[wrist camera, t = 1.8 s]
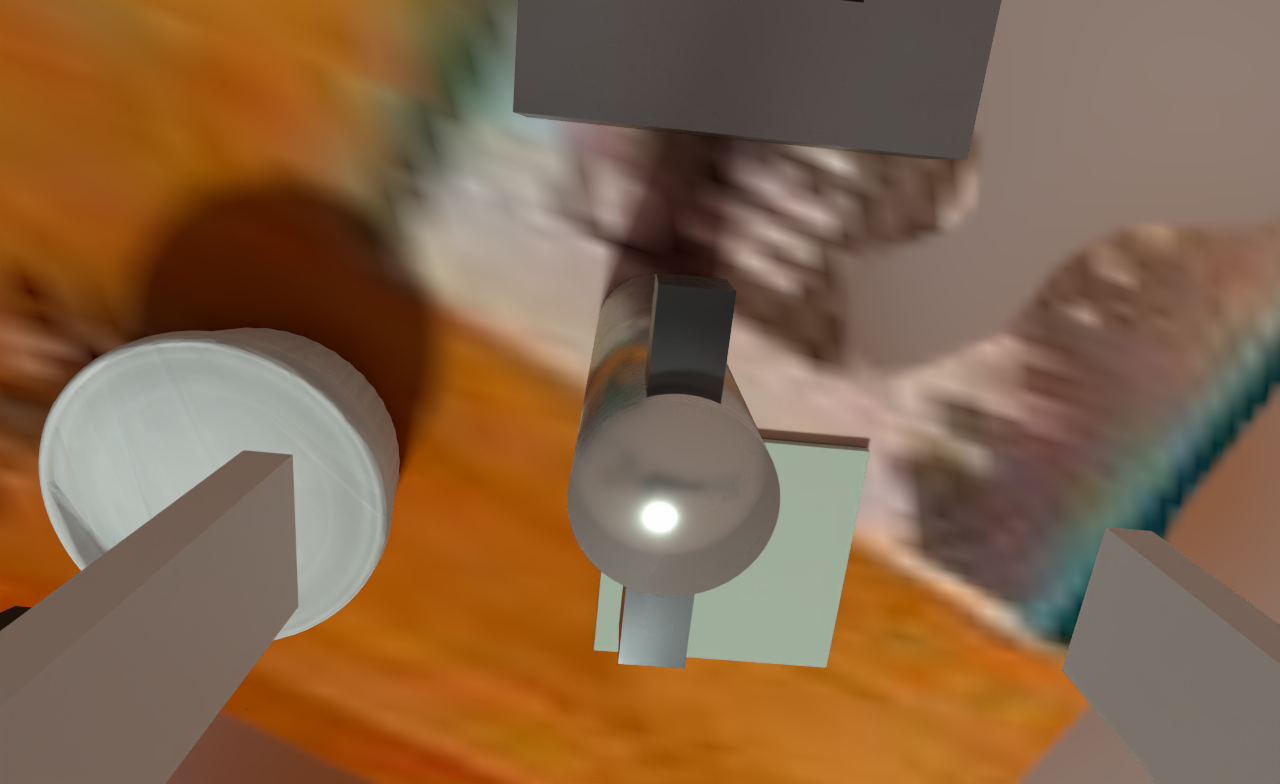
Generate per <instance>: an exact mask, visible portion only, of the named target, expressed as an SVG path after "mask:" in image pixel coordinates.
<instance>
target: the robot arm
mask: <svg viewBox="0 0 1280 784" xmlns="http://www.w3.org/2000/svg"><path fill="white" fill-rule="evenodd" d="M297 608H298V581H297V554H296V528H295V501H294V474H293V455H292V454H281V453H270V452H258V451H247V450H243V451H242V452H240V453H239V454H238V455H236V456H235V457H234V458H232V459H231V460H230V461H228V462H227V463H226V464H224V465H223V466H222V467H220V468H219V469H218V470H216V471H215V472H214V473H212V474H211V475H209V476H208V477H207V478H205V479H204V480H203V481H201V482H200V483H199V484H197V485H196V486H195V487H193V488H192V489H191V490H189V491H188V492H187V493H185V494H184V495H183V496H181V497H180V498H179V499H177V500H176V501H175V502H173V503H172V504H171V505H169V506H168V507H166V508H165V509H164V510H162V511H161V512H160V513H158V514H157V515H156V516H154V517H153V518H152V519H150V520H149V521H148V522H146V523H145V524H144V525H142V526H141V527H140V528H138V529H137V530H136V531H134V532H133V533H132V534H130V535H129V536H127V537H126V538H125V539H123V540H122V541H121V542H119V543H118V544H117V545H115V546H114V547H113V548H111V549H110V550H109V551H107V552H106V553H105V554H103V555H102V556H101V557H99V558H98V559H97V560H95V561H94V562H93V563H91V564H90V565H89V566H87V567H86V568H84V569H83V570H82V571H80V572H79V573H78V574H76V575H75V576H74V577H72V578H71V579H70V580H68V581H67V582H66V583H64V584H63V585H62V586H60V587H59V588H58V589H56V590H55V591H54V592H52V593H51V594H50V595H48V596H47V597H45V598H44V599H43V600H41V601H40V602H39V603H37V604H36V605H35V606H33V607H20V606H14V607H12V608H10V609H8V610H5V611H3V612H1V613H0V784H165V783H166V782H167V781H168V779H169V778H170V776H171V775H172V774H173V773H174V771H175V770H176V769H177V767H178V766H179V765H180V763H181V762H182V761H183V759H184V758H185V757H186V755H187V754H188V753H189V751H190V750H191V749H192V747H193V746H194V744H195V743H196V742H197V741H198V739H199V738H200V737H201V735H202V734H203V733H204V731H205V730H206V729H207V727H208V726H209V725H210V724H211V722H212V721H213V720H214V718H215V717H216V716H217V714H218V713H219V712H220V710H221V709H222V708H223V706H224V705H225V704H226V702H227V701H228V700H229V698H230V697H231V696H232V694H233V693H234V692H235V690H236V689H237V688H238V686H239V685H240V684H241V682H242V681H243V680H244V678H245V677H246V676H247V674H248V673H249V672H250V670H251V669H252V668H253V666H254V665H255V664H256V662H257V661H258V660H259V658H260V657H261V656H262V655H263V653H264V652H265V651H266V649H267V648H268V647H269V645H270V644H271V643H272V641H273V640H274V639H275V637H276V636H277V635H278V633H279V632H280V631H281V629H282V628H283V627H284V625H285V624H286V623H287V621H288V620H289V619H290V617H291V616H292V615H293V613H294V612H295V611H296V609H297ZM1062 671H1063V672H1064V673H1065V674H1066V676H1067V677H1068V678H1069V679H1070V680H1071V682H1072V683H1073V684H1074V685H1075V686H1076V688H1077V689H1078V690H1079V691H1080V692H1081V694H1082V695H1083V696H1084V697H1085V698H1086V700H1087V701H1088V702H1089V703H1090V704H1091V706H1092V707H1093V708H1094V709H1095V711H1096V712H1097V713H1098V714H1099V715H1100V717H1101V718H1102V719H1103V720H1104V721H1105V723H1106V724H1107V725H1108V726H1109V727H1110V729H1111V730H1112V731H1113V732H1114V733H1115V735H1116V736H1117V737H1118V738H1119V739H1120V741H1121V742H1122V743H1123V744H1124V746H1125V747H1126V748H1127V749H1128V750H1129V752H1130V753H1131V754H1132V755H1133V756H1134V757H1135V759H1136V760H1137V761H1138V762H1139V764H1140V765H1141V766H1142V767H1143V768H1144V770H1145V771H1146V772H1147V773H1148V774H1149V776H1150V777H1151V778H1152V779H1153V780H1154V782H1155V783H1156V784H1280V624H1279V623H1277V622H1276V621H1274V620H1273V619H1272V618H1270V617H1269V616H1268V615H1266V614H1265V613H1263V612H1262V611H1261V610H1259V609H1258V608H1256V607H1255V606H1254V605H1252V604H1251V603H1250V602H1248V601H1247V600H1246V599H1244V598H1243V597H1241V596H1240V595H1238V594H1237V593H1236V592H1235V591H1233V590H1232V589H1230V588H1229V587H1227V586H1226V585H1225V584H1223V583H1222V582H1221V581H1219V580H1218V579H1217V578H1215V577H1214V576H1213V575H1211V574H1210V573H1208V572H1207V571H1206V570H1204V569H1203V568H1201V567H1200V566H1199V565H1197V564H1196V563H1194V562H1193V561H1192V560H1191V559H1189V558H1188V557H1186V556H1185V555H1184V554H1182V553H1181V552H1180V551H1178V550H1177V549H1175V548H1174V547H1173V546H1171V545H1170V544H1169V543H1167V542H1166V541H1164V540H1163V539H1162V538H1160V537H1159V536H1157V535H1156V534H1155V533H1153V532H1152V531H1142V530H1131V529H1120V528H1109V527H1106V529H1105V532H1104V535H1103V539H1102V542H1101V545H1100V548H1099V552H1098V555H1097V558H1096V561H1095V565H1094V568H1093V571H1092V574H1091V578H1090V581H1089V584H1088V587H1087V591H1086V594H1085V597H1084V600H1083V604H1082V607H1081V610H1080V613H1079V617H1078V620H1077V623H1076V626H1075V630H1074V633H1073V636H1072V639H1071V643H1070V646H1069V649H1068V652H1067V656H1066V659H1065V662H1064V665H1063V669H1062Z"/></svg>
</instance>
